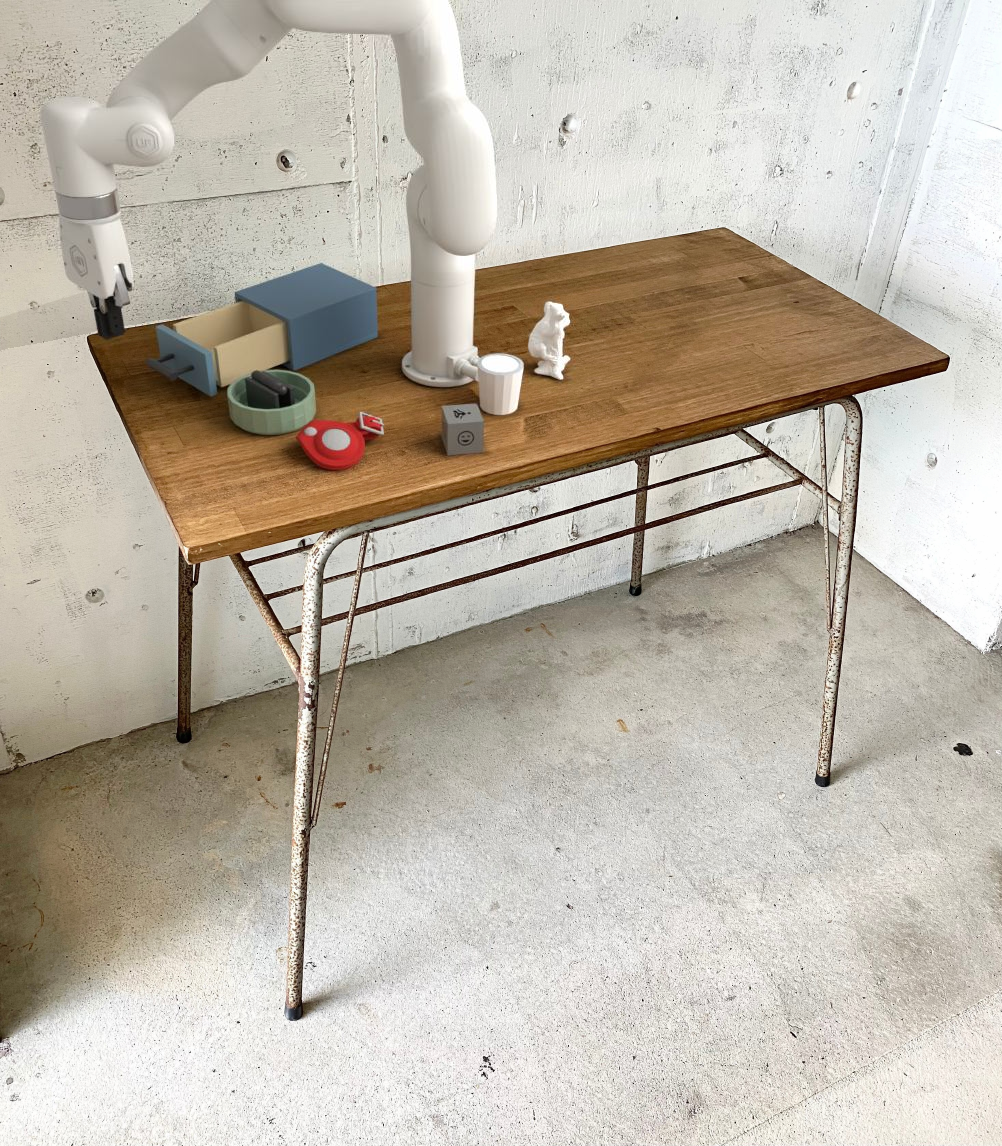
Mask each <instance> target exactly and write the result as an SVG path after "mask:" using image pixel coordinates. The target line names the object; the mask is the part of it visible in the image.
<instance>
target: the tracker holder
mask: <svg viewBox="0 0 1002 1146" xmlns="http://www.w3.org/2000/svg"><path fill="white" fill-rule="evenodd" d="M384 426H385V424H384V423H383V419H382V418H381V417H380V418H379V417H376V416H374V415H371V414H369V413H365V412H363V411H359V412H358V417H357V418H356V419H355V421H350V422H344V421H337V420H325V419H312V420H311V421H310V422H309V423H307V424H306V425H305V426H304V427H302V428H301V429H300V431H299V432H298V433H297V435H296V436H295V439H296V440H297V442H298V444H299V445H300V446H301V448H302V450H303V451H304V453H305V455H306V456H307V457H308V458H309V459H310V460H311V461H312V462H313V463H314V464H315V465H317V466H318V467H320V468H322V469H325V470H330V471H341V470H347V469H350V468H352V467H353V466H355V465H356V464H358V462H360V461H361V459H362V457H363V455H364V452H365V449H366V441H369V440H370V441H371V440H374V439H376V438H377V437H379V436H384V435H385V431H384Z"/></svg>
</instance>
